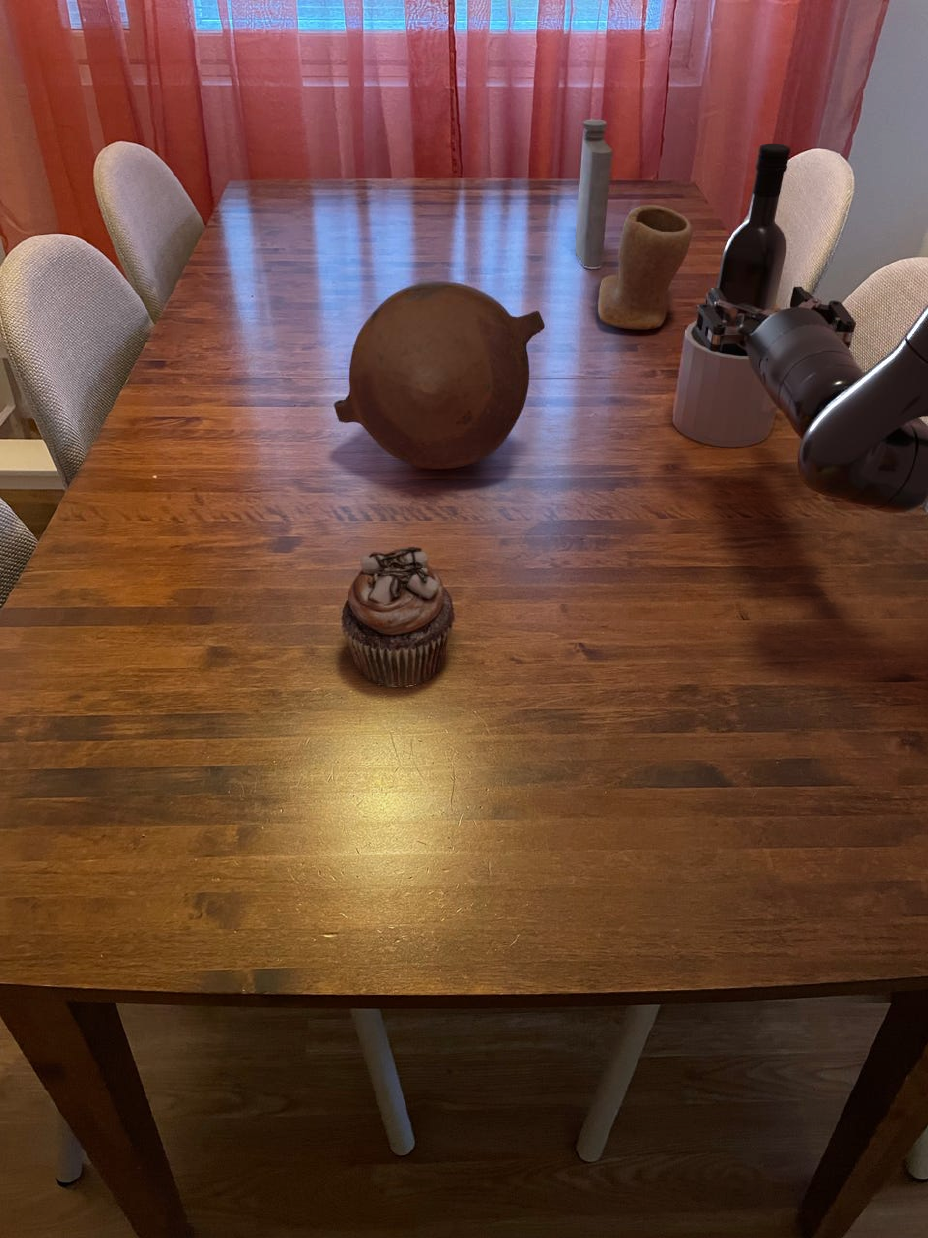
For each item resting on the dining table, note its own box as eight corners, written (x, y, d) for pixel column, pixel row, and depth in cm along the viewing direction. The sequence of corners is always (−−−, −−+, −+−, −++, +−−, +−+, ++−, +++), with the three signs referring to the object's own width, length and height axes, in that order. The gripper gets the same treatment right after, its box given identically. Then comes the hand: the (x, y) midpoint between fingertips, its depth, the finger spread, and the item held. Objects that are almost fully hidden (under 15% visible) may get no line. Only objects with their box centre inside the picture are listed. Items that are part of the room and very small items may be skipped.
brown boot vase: (678, 339, 132) (695, 229, 123) (593, 333, 134) (603, 224, 124) (678, 297, 144) (694, 194, 134) (600, 292, 145) (609, 189, 136)
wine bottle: (709, 401, 117) (758, 136, 97) (754, 414, 114) (812, 144, 95) (691, 420, 113) (737, 149, 94) (736, 433, 111) (793, 157, 91)
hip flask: (602, 269, 153) (614, 134, 140) (577, 269, 153) (587, 134, 140) (594, 236, 165) (605, 108, 152) (571, 236, 165) (579, 108, 152)
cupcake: (330, 638, 85) (319, 547, 78) (430, 610, 88) (427, 520, 81) (366, 708, 78) (356, 616, 72) (473, 675, 81) (473, 583, 75)
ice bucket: (761, 400, 119) (779, 315, 112) (781, 448, 110) (803, 359, 103) (666, 399, 119) (679, 314, 112) (678, 446, 110) (693, 357, 103)
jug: (489, 515, 99) (525, 423, 125) (540, 333, 89) (568, 273, 114) (306, 460, 100) (378, 380, 125) (335, 273, 90) (408, 227, 115)
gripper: (892, 324, 83) (830, 258, 96) (732, 327, 83) (691, 260, 95) (869, 401, 88) (812, 329, 101) (718, 405, 88) (680, 332, 100)
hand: (753, 296), depth 98 cm, fingers open, 8 cm apart
